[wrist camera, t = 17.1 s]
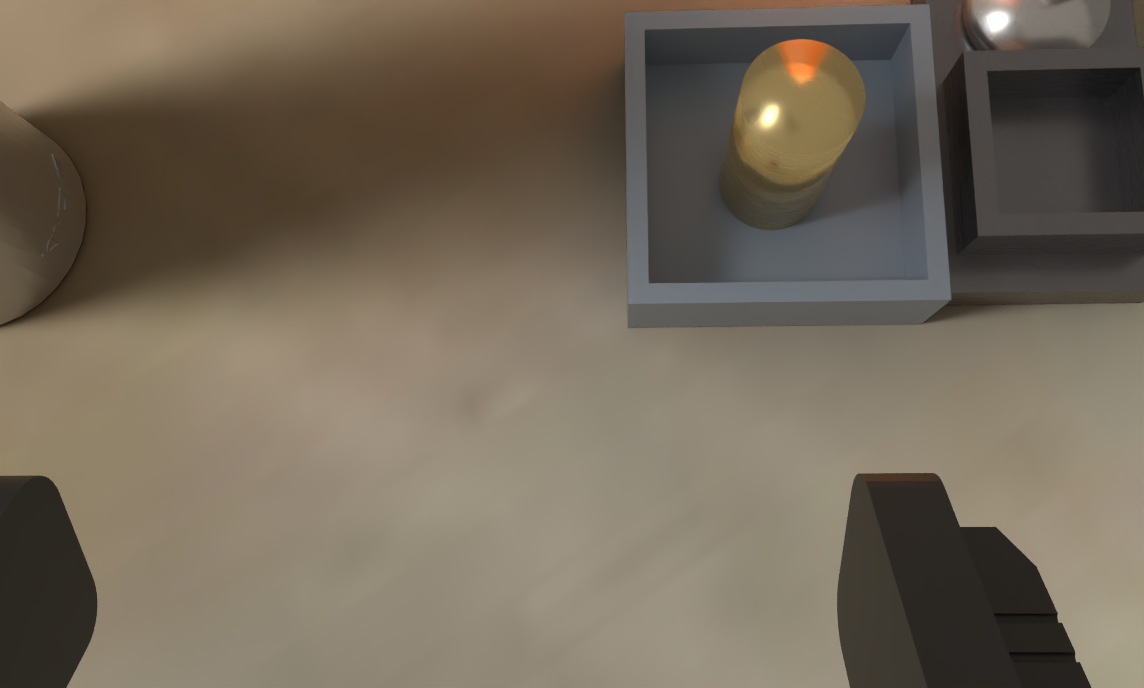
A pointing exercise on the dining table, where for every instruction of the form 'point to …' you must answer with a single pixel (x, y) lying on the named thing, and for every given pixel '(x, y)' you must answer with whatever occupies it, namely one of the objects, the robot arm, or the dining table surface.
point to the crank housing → (1041, 149)
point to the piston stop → (789, 132)
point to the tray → (845, 207)
